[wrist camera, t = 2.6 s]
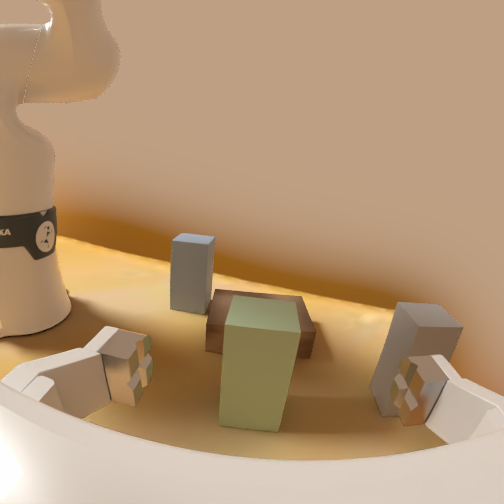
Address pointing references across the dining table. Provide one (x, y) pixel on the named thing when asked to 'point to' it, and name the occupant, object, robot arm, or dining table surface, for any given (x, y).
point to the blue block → (191, 272)
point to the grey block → (412, 345)
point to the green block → (257, 362)
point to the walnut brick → (224, 297)
